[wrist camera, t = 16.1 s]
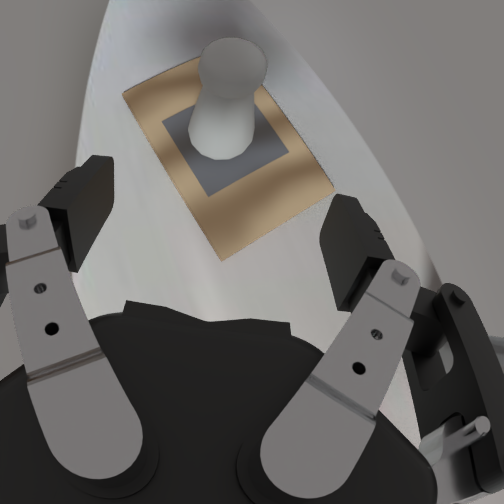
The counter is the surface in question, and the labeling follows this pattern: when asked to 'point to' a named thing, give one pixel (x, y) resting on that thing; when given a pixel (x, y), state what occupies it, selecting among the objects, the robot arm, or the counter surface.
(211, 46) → the salt shaker
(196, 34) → the counter surface
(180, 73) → the wooden board
